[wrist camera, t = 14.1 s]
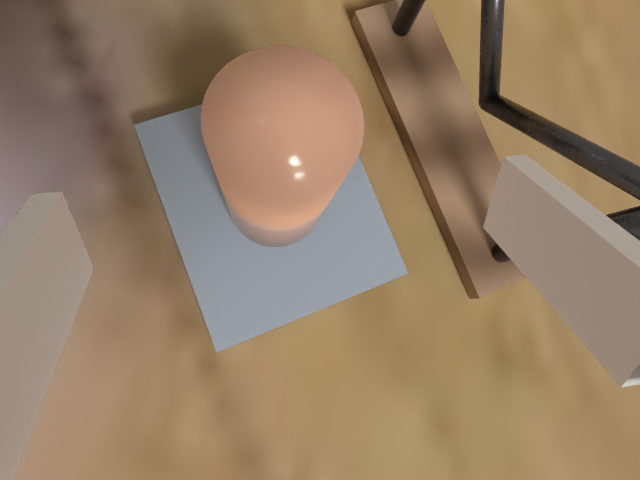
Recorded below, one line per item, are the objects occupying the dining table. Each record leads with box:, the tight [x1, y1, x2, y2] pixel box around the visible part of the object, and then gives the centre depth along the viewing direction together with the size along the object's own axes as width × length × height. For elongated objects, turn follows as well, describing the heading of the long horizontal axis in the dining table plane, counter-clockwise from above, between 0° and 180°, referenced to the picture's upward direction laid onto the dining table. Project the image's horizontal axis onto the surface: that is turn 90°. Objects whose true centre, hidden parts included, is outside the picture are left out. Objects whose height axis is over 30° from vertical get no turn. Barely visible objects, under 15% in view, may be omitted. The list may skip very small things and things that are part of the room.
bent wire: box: [392, 0, 640, 263], centre depth 21 cm, size 17×1×12 cm, turn 22°
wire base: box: [351, 0, 526, 299], centre depth 27 cm, size 20×5×1 cm, turn 22°
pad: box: [134, 104, 408, 353], centre depth 25 cm, size 14×12×1 cm
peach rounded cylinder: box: [201, 46, 365, 247], centre depth 19 cm, size 6×6×11 cm
